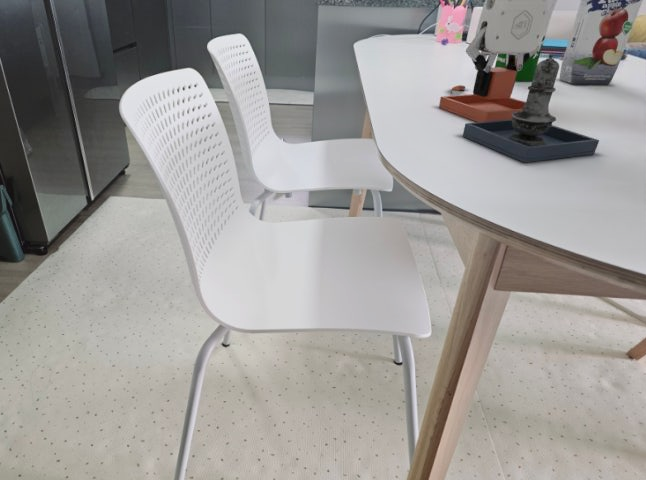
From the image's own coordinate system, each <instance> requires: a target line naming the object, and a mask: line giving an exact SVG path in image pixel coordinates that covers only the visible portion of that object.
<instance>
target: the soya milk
mask: <svg viewBox="0 0 646 480" xmlns="http://www.w3.org/2000/svg"><path fill="white" fill-rule="evenodd" d="M557 2H558V0H548V1H547V8H546V13H545V18H544V23H543V27H542V32H541V36H540V39H539V43H538V45H539V50H538V51H537V52H536V53H535V54H533V55H532V56H531V57H529V59H528V60H527V61H526V62H525V63H524V64H523V66H522V69H521V70H520V71H518V72H517V76H516V80H515V82H532V81H533V78H534V74H535V71H536V67H537V65H538V63H539V61H540V57H541V53H542V49H543V45H544V42H545V39H546V36H547V32H548V28H549V25H550V21H551V19H552V15H553V12H554V10H555V7H556V4H557ZM506 56H507V54H497V56H496V59H495V65H494V67H501V68H505V69H506ZM515 57H516V56H515V55H514V58H515Z"/></svg>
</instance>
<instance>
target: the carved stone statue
mask: <svg viewBox="0 0 646 480" xmlns="http://www.w3.org/2000/svg"><path fill="white" fill-rule="evenodd" d="M554 56H555V55H554V52H553V51H552V52H550V53H549V54H548V58H546V59H543V60H541V61H539V62H538V64H537V67H536V71H535V74H534V78H533V81H531V85H528V86H527V90H528V94H527V96H526V101H525V102H526V103H525V105H524V107H523V108H522V110H520V111H519V112H514V113H512V114H511V116H512V118H513V119H512V127H513V128H514V130H515V131H516V132H517V133H519V134H514V135H511V136H509V137H507V138H508V139H511V140H513V141H516V142H518V143H521V144H524V145H526V146H539V145H545V144H546V141H545V140H543V138H541V137H538V135H542V134H544V133H545V132H547V131H548V130H549V128H550V127H551V125H553V123H554V122H556V120H557V117H555V116H553V115H552V114H551V113H550V112H549V107H550V106H549V105H550V101H551V98H552V95H553V93H554V92H556V87H555V83H556V79H557V77H558V73H559V70H560V64H559V62H558V61H557V60H555V58H554Z"/></svg>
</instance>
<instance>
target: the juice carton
mask: <svg viewBox="0 0 646 480" xmlns="http://www.w3.org/2000/svg"><path fill="white" fill-rule="evenodd" d="M642 3H643V0H580V3H579V7H578V10H577V13H576V16H575V19H574V23H573V26H572V29H571V32H570V35H569V38H568V42H567V45H566V48H565V52H564V55H563V58H562V62H561V65H560V72H559V80H560V81H563V82H566V83H569V84H571V85H574V86H575V85H577V86H584V85H585V86H588V85H589V86H606V85H610V84H611V83H612V80H613V78H614V76H615V74H616V72H617V70H618V67H619V64H620V62H621V59H622V58H623V54H624V51H625V49H626V46H627V43H628V41H629V39H630V36H631V33H632V30H633V27H634V25H635V22H636V20H637V17H638V14H639V11H640V9H641V6H642Z"/></svg>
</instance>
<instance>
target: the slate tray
mask: <svg viewBox="0 0 646 480" xmlns="http://www.w3.org/2000/svg"><path fill="white" fill-rule="evenodd" d="M514 134H519V133H517V132H516V131H515V130H514V128H513V127H512V119H508V120H497V121H486V122H476V121H474V122H467V123H465V124H464V128H463V132H462V137H463V138H465V139H468V140H471V141H473V142H474V143H478V144H480V145H482V146H484V147H487V148H489V149H491V150H494V151H496V152H498V153H500V154H503V155H506V156H508V157H509V158H513V159H515V160H517V161H519V162H522V163H533V162H540V161H541V162H543V161H549V160H558V159H566V158H575V157H581V156H582V157H584V156H591V155H595V153H596V150H597V147H598V145H599V143H600V139H598V138H594V137H591V136H588V135H584V134H581V133H578V132H575V131H572V130H569V129H565V128H562V127H559V126H557V125H553V124H552V125H551V127H550V128H549V130H548V131H547V132H545V133H544V134H542V135H538V137H541V138H543V140H545V141H546V144H545V145H539V146H526V145H524V144H521V143H518V142H516V141H513V140H511V139H508V138H507V137H509V136H511V135H514Z"/></svg>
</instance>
